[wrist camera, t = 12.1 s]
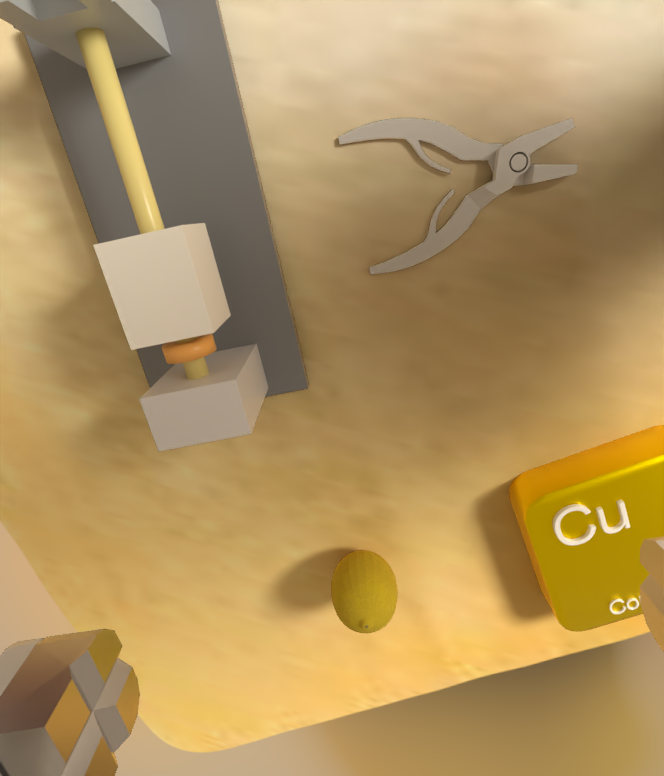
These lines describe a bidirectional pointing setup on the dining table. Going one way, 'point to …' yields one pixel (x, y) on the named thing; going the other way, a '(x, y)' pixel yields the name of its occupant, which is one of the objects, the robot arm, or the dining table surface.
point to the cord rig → (172, 189)
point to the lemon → (364, 591)
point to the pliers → (503, 159)
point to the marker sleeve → (164, 284)
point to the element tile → (593, 526)
